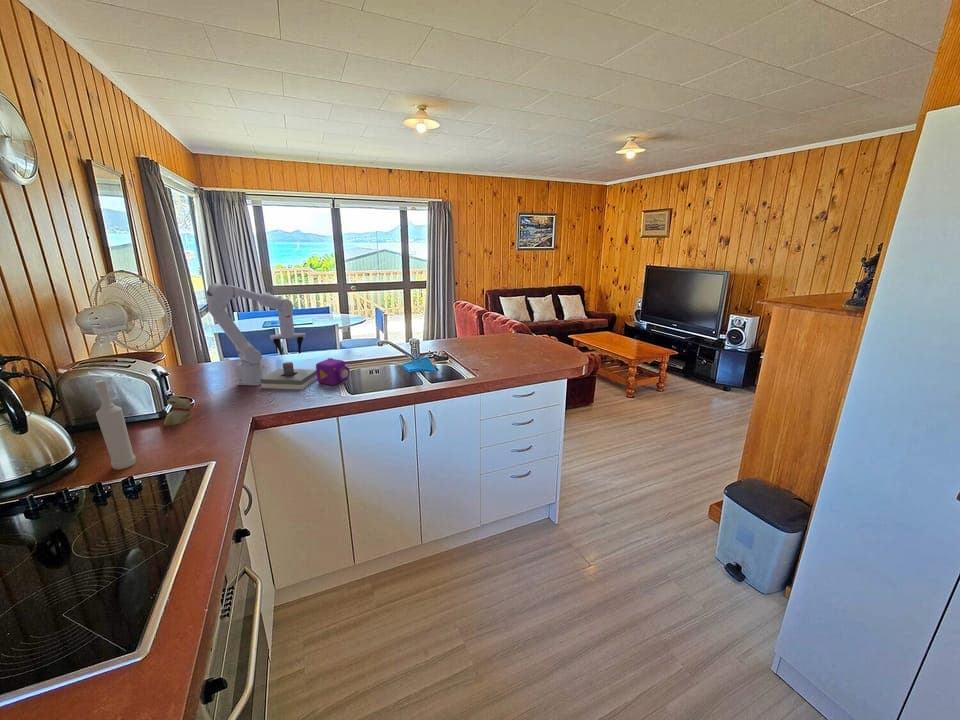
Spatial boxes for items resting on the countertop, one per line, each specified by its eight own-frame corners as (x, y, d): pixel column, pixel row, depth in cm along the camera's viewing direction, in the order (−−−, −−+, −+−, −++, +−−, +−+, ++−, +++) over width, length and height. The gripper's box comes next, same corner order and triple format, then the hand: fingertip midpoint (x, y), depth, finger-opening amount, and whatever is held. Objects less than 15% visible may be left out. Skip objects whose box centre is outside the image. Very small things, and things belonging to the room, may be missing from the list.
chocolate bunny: (192, 421, 137) (186, 395, 134) (163, 427, 133) (156, 399, 130) (193, 416, 141) (187, 389, 138) (165, 421, 137) (159, 394, 134)
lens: (282, 380, 171) (280, 364, 169) (287, 377, 175) (285, 362, 173) (292, 380, 171) (289, 365, 169) (296, 377, 175) (294, 362, 173)
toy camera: (343, 387, 169) (341, 365, 166) (314, 385, 172) (311, 363, 169) (355, 379, 179) (353, 358, 176) (328, 377, 182) (326, 356, 179)
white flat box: (261, 387, 168) (260, 379, 167) (280, 376, 181) (278, 368, 180) (302, 389, 166) (301, 380, 165) (318, 378, 180) (317, 369, 179)
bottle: (122, 460, 113) (97, 378, 106) (141, 459, 114) (118, 377, 106) (107, 470, 108) (80, 384, 101) (127, 469, 109) (102, 384, 101)
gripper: (267, 327, 174) (272, 357, 178) (303, 325, 179) (307, 354, 183) (269, 324, 180) (274, 353, 184) (304, 322, 185) (307, 350, 189)
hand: (290, 353), depth 184 cm, fingers open, 7 cm apart
